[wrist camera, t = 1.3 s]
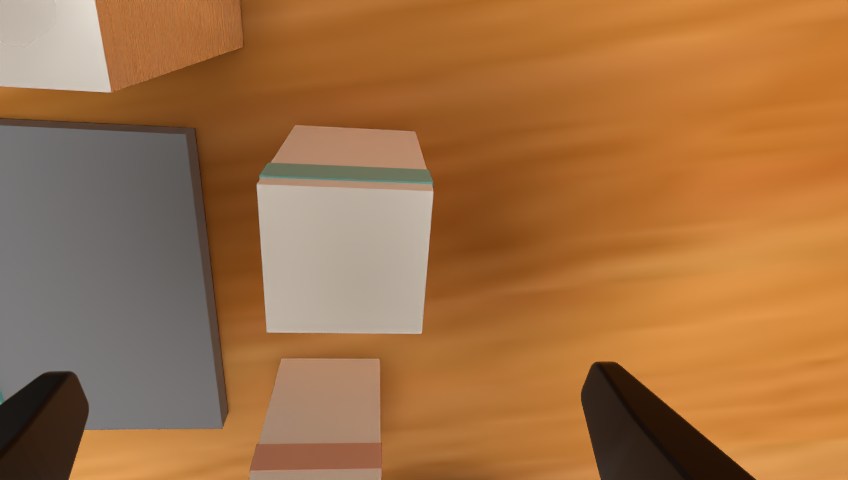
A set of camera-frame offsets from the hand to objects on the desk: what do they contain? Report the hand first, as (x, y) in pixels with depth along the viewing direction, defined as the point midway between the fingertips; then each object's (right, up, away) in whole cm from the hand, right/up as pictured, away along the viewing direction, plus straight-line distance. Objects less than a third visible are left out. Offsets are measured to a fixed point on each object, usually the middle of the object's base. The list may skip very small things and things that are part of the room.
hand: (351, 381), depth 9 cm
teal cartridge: (-1, +5, +12) cm, 13 cm away
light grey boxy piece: (-3, -5, +16) cm, 17 cm away
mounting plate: (-13, +1, +12) cm, 18 cm away
